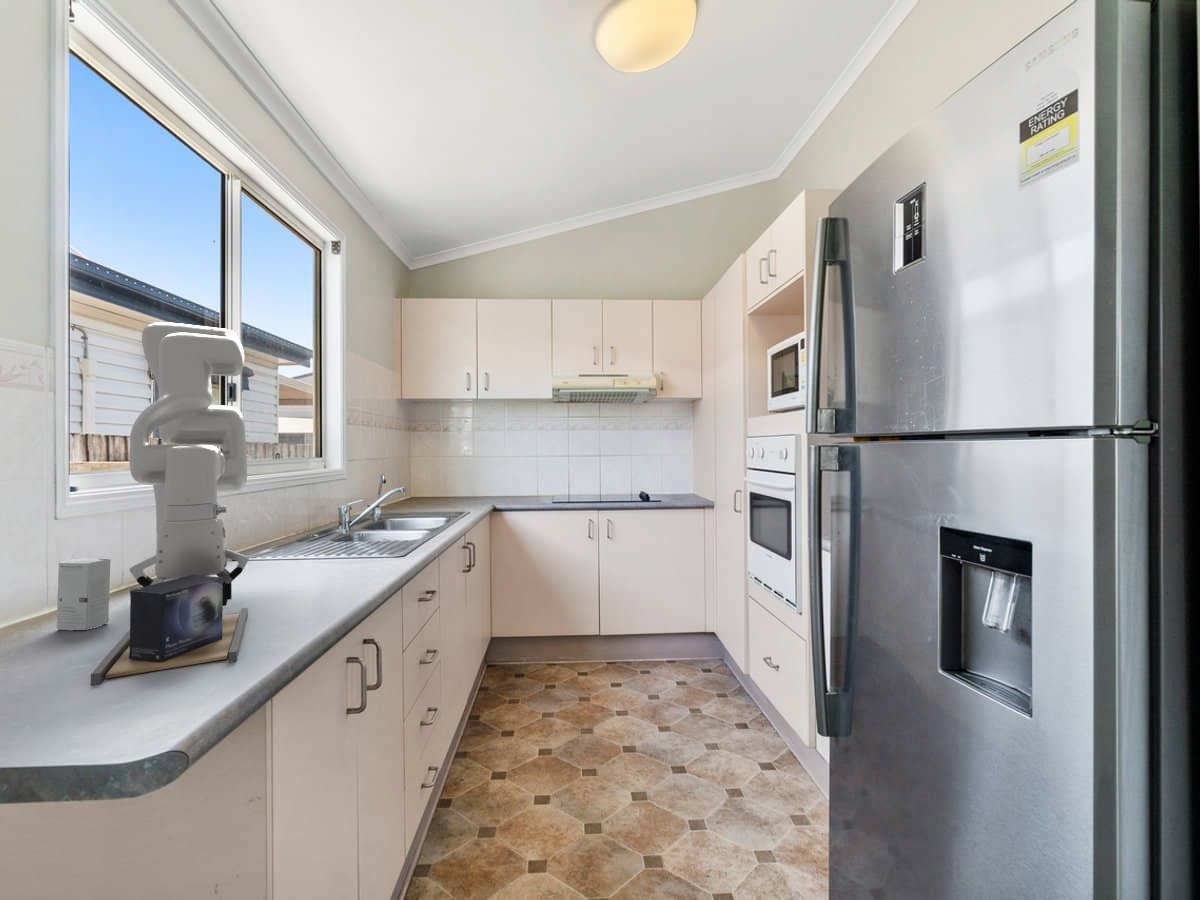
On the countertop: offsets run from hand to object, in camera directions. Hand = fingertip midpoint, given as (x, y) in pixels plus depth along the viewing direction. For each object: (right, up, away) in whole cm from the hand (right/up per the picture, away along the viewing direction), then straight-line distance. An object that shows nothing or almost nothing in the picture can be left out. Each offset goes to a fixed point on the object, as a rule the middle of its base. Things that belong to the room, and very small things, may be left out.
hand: (192, 607), depth 99 cm
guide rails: (+5, -3, -9) cm, 11 cm away
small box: (+8, -3, -13) cm, 15 cm away
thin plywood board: (+5, -3, -9) cm, 11 cm away
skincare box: (-20, -4, 0) cm, 20 cm away
